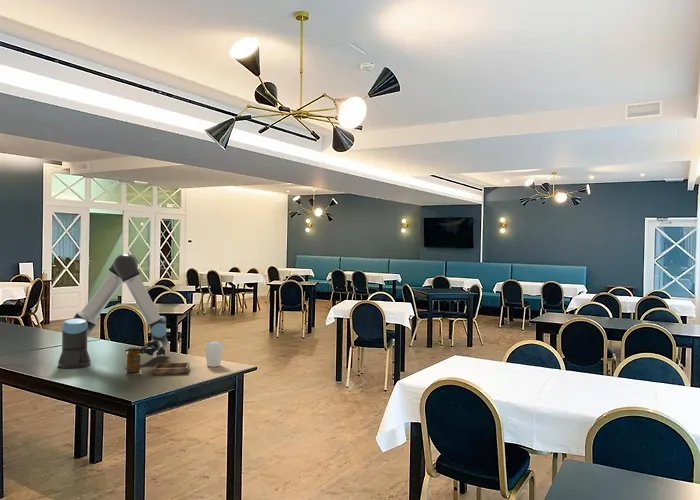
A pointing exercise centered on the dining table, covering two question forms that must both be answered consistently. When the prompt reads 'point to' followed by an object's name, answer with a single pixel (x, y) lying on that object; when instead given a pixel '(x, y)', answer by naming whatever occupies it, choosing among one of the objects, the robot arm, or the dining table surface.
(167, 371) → the holder tray
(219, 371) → the dining table surface
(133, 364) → the condiment
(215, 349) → the cup
